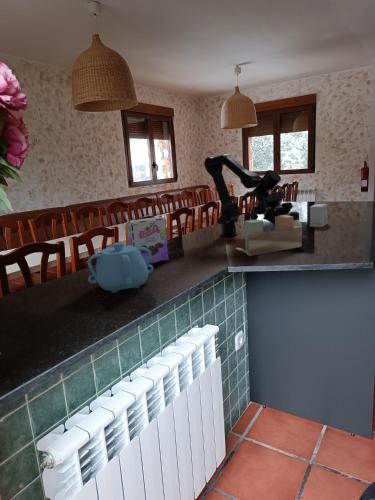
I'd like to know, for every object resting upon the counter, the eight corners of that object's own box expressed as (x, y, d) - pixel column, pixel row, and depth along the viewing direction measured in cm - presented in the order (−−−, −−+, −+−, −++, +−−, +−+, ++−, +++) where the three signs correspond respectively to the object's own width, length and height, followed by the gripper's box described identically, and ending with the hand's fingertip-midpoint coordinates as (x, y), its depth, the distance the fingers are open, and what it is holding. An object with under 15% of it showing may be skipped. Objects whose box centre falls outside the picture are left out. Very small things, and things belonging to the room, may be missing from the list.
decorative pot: (127, 299, 97) (122, 251, 93) (84, 292, 104) (78, 248, 101) (159, 280, 111) (155, 238, 107) (119, 275, 118) (115, 236, 115)
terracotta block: (275, 245, 143) (275, 216, 141) (285, 243, 145) (285, 215, 142) (283, 248, 139) (282, 218, 136) (293, 246, 141) (293, 216, 138)
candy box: (135, 266, 128) (130, 222, 124) (130, 263, 133) (125, 220, 129) (169, 260, 134) (166, 217, 130) (163, 257, 139) (159, 216, 135)
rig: (233, 249, 142) (233, 230, 140) (282, 241, 151) (282, 223, 149) (250, 256, 131) (249, 235, 129) (301, 246, 140) (301, 226, 138)
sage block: (245, 250, 139) (244, 220, 136) (256, 248, 140) (255, 219, 137) (252, 253, 134) (251, 222, 131) (263, 251, 136) (263, 220, 133)
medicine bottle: (298, 236, 157) (298, 210, 155) (302, 240, 151) (302, 212, 148) (282, 237, 158) (282, 211, 155) (285, 241, 151) (284, 213, 148)
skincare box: (315, 223, 187) (315, 203, 185) (327, 223, 184) (328, 203, 181) (309, 226, 179) (309, 206, 177) (322, 227, 175) (322, 206, 173)
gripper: (252, 186, 140) (269, 217, 133) (290, 182, 147) (308, 211, 140) (242, 204, 149) (257, 234, 142) (278, 200, 156) (295, 228, 149)
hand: (280, 226), depth 143 cm, fingers closed, pressing on terracotta block
